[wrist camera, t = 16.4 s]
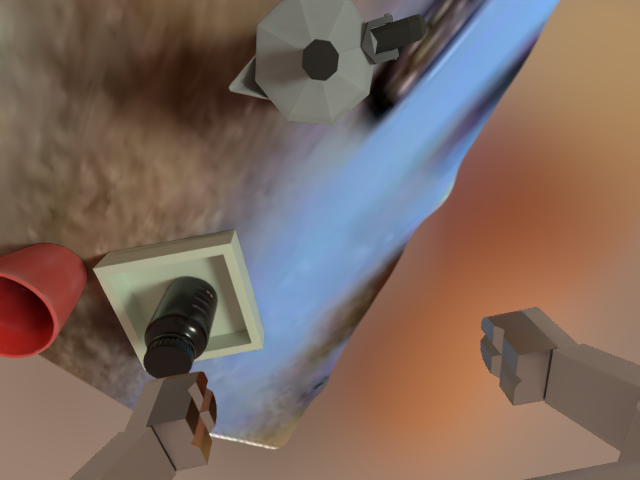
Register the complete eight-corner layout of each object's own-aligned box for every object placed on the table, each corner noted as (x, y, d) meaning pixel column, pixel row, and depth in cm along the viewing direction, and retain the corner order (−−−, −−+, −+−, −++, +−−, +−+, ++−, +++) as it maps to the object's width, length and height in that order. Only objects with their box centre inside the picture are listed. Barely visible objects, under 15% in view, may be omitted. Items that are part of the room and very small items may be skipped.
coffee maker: (261, 123, 40) (246, 162, 24) (231, 36, 36) (187, 10, 20) (391, 82, 39) (467, 92, 23) (374, -12, 35) (450, -78, 19)
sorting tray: (108, 252, 45) (92, 268, 41) (235, 229, 45) (230, 243, 41) (154, 349, 52) (144, 370, 48) (264, 329, 52) (262, 348, 48)
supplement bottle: (187, 325, 49) (159, 397, 38) (154, 289, 46) (115, 356, 36) (229, 304, 48) (214, 372, 38) (199, 265, 46) (173, 327, 35)
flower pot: (-1, 288, 46) (-69, 340, 37) (16, 215, 42) (-55, 254, 33) (87, 316, 48) (44, 371, 40) (110, 251, 45) (68, 296, 36)
